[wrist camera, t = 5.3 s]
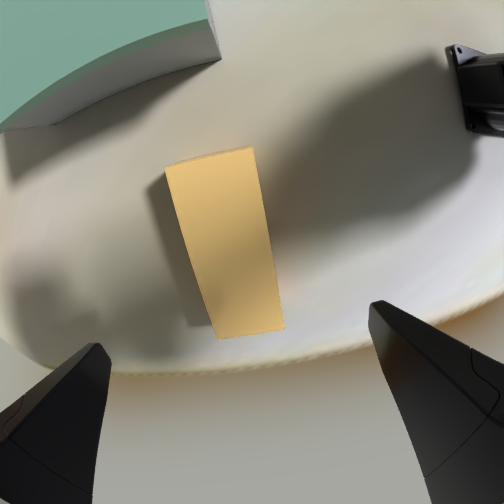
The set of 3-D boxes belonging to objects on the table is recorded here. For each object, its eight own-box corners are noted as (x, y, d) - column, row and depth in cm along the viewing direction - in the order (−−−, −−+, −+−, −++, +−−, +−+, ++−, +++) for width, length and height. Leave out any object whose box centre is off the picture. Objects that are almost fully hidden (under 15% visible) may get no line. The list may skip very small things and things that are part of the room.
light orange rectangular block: (251, 144, 14) (252, 147, 11) (279, 299, 18) (284, 329, 15) (179, 160, 14) (164, 168, 11) (220, 309, 18) (217, 339, 16)
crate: (194, -56, 7) (180, -98, 3) (221, 59, 11) (210, 25, 7) (47, 10, 8) (5, -5, 3) (54, 124, 12) (0, 131, 8)
